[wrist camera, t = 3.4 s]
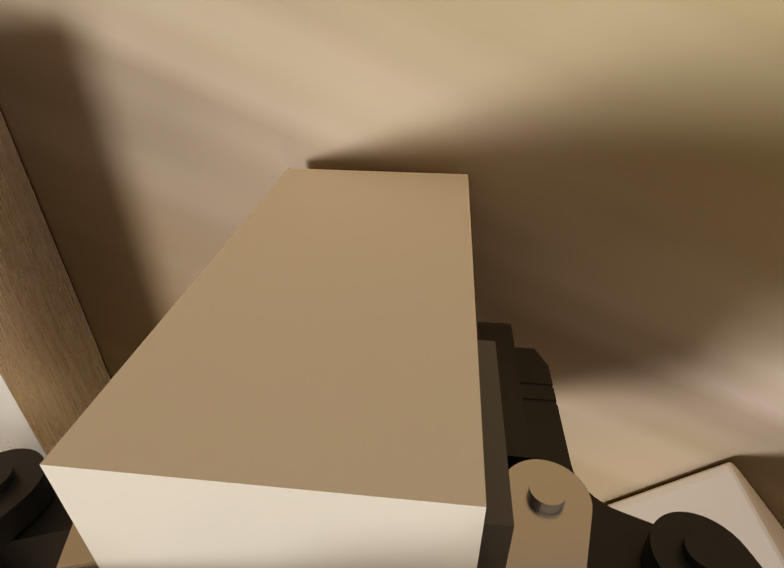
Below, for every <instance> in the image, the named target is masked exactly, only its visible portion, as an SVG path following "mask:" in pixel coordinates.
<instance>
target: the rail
mask: <svg viewBox="0 0 784 568" xmlns="http://www.w3.org/2000/svg"><path fill="white" fill-rule="evenodd" d="M110 380H111V379H110V377H109V374H108V372H107V369H106V367H105V364H104V362H103V360H102V357H101V355H100V352H99V350H98V347H97V345H96V342H95V340H94V338H93V335H92V333H91V330H90V328H89V325H88V323H87V320H86V318H85V316H84V313H83V311H82V308H81V306H80V303H79V301H78V299H77V296H76V294H75V291H74V289H73V286H72V284H71V281H70V279H69V277H68V274H67V272H66V269H65V267H64V264H63V262H62V259H61V257H60V255H59V252H58V250H57V247H56V245H55V242H54V240H53V237H52V235H51V233H50V230H49V228H48V225H47V223H46V220H45V218H44V216H43V213H42V211H41V208H40V206H39V203H38V201H37V198H36V196H35V194H34V191H33V189H32V186H31V184H30V181H29V179H28V176H27V174H26V172H25V169H24V167H23V164H22V162H21V159H20V157H19V154H18V152H17V150H16V147H15V145H14V142H13V140H12V137H11V135H10V133H9V130H8V128H7V125H6V123H5V120H4V118H3V115H2V113H1V111H0V452H3V451H7V450H11V449H20V448H25V449H32V450H35V451H37V452H39V453H40V454H41V455H42V456H43V458H44V459H45V457H46V456H47V455H48V454H49V453H50V452H51V450H52V449H53V448H54V447H55V446H56V444H57V443H58V442H59V441H60V440H61V438H62V437H63V436H64V435H65V434H66V432H67V431H68V430H69V429H70V428H71V427H72V425H73V424H74V423H75V422H76V421H77V419H78V418H79V417H80V416H81V415H82V413H83V412H84V411H85V410H86V409H87V408H88V406H89V405H90V404H91V403H92V402H93V400H94V399H95V398H96V397H97V396H98V394H99V393H100V392H101V391H102V390H103V389H104V387H105V386H106V385H107V384H108V383H109V381H110Z"/></svg>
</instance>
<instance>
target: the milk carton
mask: <svg viewBox="0 0 784 568" xmlns="http://www.w3.org/2000/svg"><path fill="white" fill-rule="evenodd" d="M608 506H609V507H611V508H614V509H616V510H618V511H621V512H624V513H626V514H629V515H631V516H634V517H637V518H639V519H642V520H645V521H647V522H650V523H653V524H654V523H655V521H656V520H657V519H658V518H659V517H661V516H663V515H665V514H667V513H671V512H679V511H680V512H690V513H695V514H698V515H701V516H704V517H707V518H709V519H711V520H713V521H715V522H717V523H718V524H720V525H722V526H723V527H725V528H726V529H727V530H729V531H730V532H731V533H733V534H734V535H735V536H736V537H737V538H738V539H739V540H740V541H741V542H742V543H743V544H744V545H745V547H746V548H747V549H748V550H749V551H750V553H751V554H752V555H753V556H754V558H755V559H756V560H757V561H758V563H759V564H760V565H761V566H762V568H784V529H783V528H782V526H781V525H780V524H779V522H778V521H777V520H776V518H775V517H774V516H773V514H772V513H771V512H770V511H769V509H768V508H767V507H766V505H765V504H764V503H763V501H762V500H761V499H760V497H759V496H758V495H757V493H756V492H755V491H754V489H753V488H752V487H751V485H750V484H749V483H748V481H747V480H746V479H745V478H744V476H743V475H742V474H741V472H740V471H739V470H738V469H737V467H736V466H735V465H734V464H733V463H731V462H728V463H725V464H722V465H719V466H716V467H713V468H710V469H707V470H705V471H702V472H699V473H696V474H693V475H690V476H687V477H685V478H682V479H679V480H676V481H673V482H671V483H668V484H665V485H662V486H659V487H656V488H654V489H651V490H648V491H645V492H642V493H640V494H637V495H634V496H631V497H628V498H626V499H623V500H620V501H617V502H614V503H612V504H609V505H608Z"/></svg>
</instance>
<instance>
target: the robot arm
mask: <svg viewBox="0 0 784 568" xmlns="http://www.w3.org/2000/svg"><path fill="white" fill-rule="evenodd" d="M476 327H477V340H486V341H495V344H496V353H497V363H498V373H499V382H500V392H501V402H502V411H503V421H504V431H505V440H506V450H507V460H508V469H509V479H510V489H511V498H512V508H513V518H514V531H513V535H512V540H511V545H510V549H509V554H508V559H507V563H506V568H762V566H761V565H760V564H759V563H758V561H757V560H756V559H755V558H754V556H753V555H752V554H751V553H750V551H749V550H748V549H747V548H746V547H745V545H744V544H743V543H742V542H741V541H740V540H739V539H738V538H737V537H736V536H735V535H734V534H733V533H731V532H730V531H729V530H727V529H726V528H725V527H723V526H722V525H720V524H718V523H717V522H715V521H713V520H711V519H709V518H707V517H704V516H701V515H698V514H695V513H690V512H680V511H679V512H671V513H667V514H665V515H663V516H661V517H659V518H658V519H657V520H656V521H655V523H654V524H653V523H650V522H647V521H645V520H642V519H639V518H637V517H634V516H631V515H629V514H626V513H624V512H621V511H618V510H616V509H614V508H611V507H609V506H608V505H606V504H604V503H602V502H601V501H599V500H598V499H596V498H595V497H594V496H593V495H591V494H590V493H589V492H588V490H587V488H586V487H585V485H584V484H583V482H582V481H581V480H580V479H579V478H578V477H577V476H576V475H575V474H574V472H573V469H572V466H571V462H570V458H569V454H568V449H567V445H566V441H565V436H564V432H563V428H562V423H561V419H560V415H559V410H558V406H557V404H556V397H555V393H554V388H552V385H553V384H552V380H551V375H550V371H549V367H548V365H547V364H546V362H545V361H544V360H543V359H542V357H541V356H540V355H539V354H538V352H537V351H536V350H535V349H529V348H515V347H514V340H513V334H512V327H511V324H502V323H485V322H477V323H476ZM43 460H44V458H43V456H42V455H41V454H40V453H39V452H37V451H35V450H32V449H25V448H20V449H11V450H7V451H3V452H0V568H99V566H98V565H97V563H96V561H95V559H94V558H93V556H92V554H91V553H90V551H89V549H88V547H87V546H86V544H85V542H84V540H83V539H82V537H81V535H80V534H79V532H78V530H77V528H76V527H75V525H74V523H73V522H72V520H71V518H70V516H69V515H68V513H67V511H66V509H65V508H64V506H63V504H62V503H61V501H60V499H59V497H58V496H57V494H56V492H55V490H54V489H53V487H52V485H51V484H50V482H49V480H48V478H47V477H46V475H45V473H44V472H43V470H42V468H41V466H40V463H41V462H42V461H43Z"/></svg>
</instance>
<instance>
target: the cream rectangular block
mask: <svg viewBox="0 0 784 568" xmlns="http://www.w3.org/2000/svg"><path fill="white" fill-rule="evenodd" d="M40 466H41V468H42V470H43V472H44V473H45V475H46V477H47V478H48V480H49V482H50V484H51V485H52V487H53V489H54V490H55V492H56V494H57V496H58V497H59V499H60V501H61V503H62V504H63V506H64V508H65V509H66V511H67V513H68V515H69V516H70V518H71V520H72V522H73V523H74V525H75V527H76V528H77V530H78V532H79V534H80V535H81V537H82V539H83V540H84V542H85V544H86V546H87V547H88V549H89V551H90V553H91V554H92V556H93V558H94V559H95V561H96V563H97V565H98V566H99V568H506V563H507V559H508V554H509V549H510V545H511V540H512V535H513V531H514V518H513V508H512V498H511V489H510V479H509V469H508V460H507V450H506V440H505V431H504V421H503V411H502V402H501V392H500V382H499V373H498V363H497V353H496V344H495V341H486V340H477V327H476V309H475V291H474V273H473V255H472V237H471V219H470V201H469V183H468V174H443V173H414V172H384V171H354V170H324V169H294V168H289V169H288V170H287V171H286V172H285V173H284V175H283V176H282V177H281V178H280V179H279V181H278V182H277V183H276V184H275V185H274V187H273V188H272V189H271V190H270V191H269V192H268V194H267V195H266V196H265V197H264V198H263V200H262V201H261V202H260V203H259V204H258V206H257V207H256V208H255V209H254V210H253V211H252V213H251V214H250V215H249V216H248V217H247V219H246V220H245V221H244V222H243V223H242V225H241V226H240V227H239V228H238V229H237V230H236V232H235V233H234V234H233V235H232V236H231V238H230V239H229V240H228V241H227V242H226V244H225V245H224V246H223V247H222V248H221V249H220V251H219V252H218V253H217V254H216V255H215V257H214V258H213V259H212V260H211V261H210V263H209V264H208V265H207V266H206V267H205V269H204V270H203V271H202V272H201V273H200V274H199V276H198V277H197V278H196V279H195V280H194V282H193V283H192V284H191V285H190V286H189V288H188V289H187V290H186V291H185V292H184V293H183V295H182V296H181V297H180V298H179V299H178V301H177V302H176V303H175V304H174V305H173V307H172V308H171V309H170V310H169V311H168V312H167V314H166V315H165V316H164V317H163V318H162V320H161V321H160V322H159V323H158V324H157V326H156V327H155V328H154V329H153V330H152V331H151V333H150V334H149V335H148V336H147V337H146V339H145V340H144V341H143V342H142V343H141V345H140V346H139V347H138V348H137V349H136V350H135V352H134V353H133V354H132V355H131V356H130V358H129V359H128V360H127V361H126V362H125V364H124V365H123V366H122V367H121V368H120V370H119V371H118V372H117V373H116V374H115V375H114V377H113V378H112V379H111V380H110V381H109V383H108V384H107V385H106V386H105V387H104V389H103V390H102V391H101V392H100V393H99V394H98V396H97V397H96V398H95V399H94V400H93V402H92V403H91V404H90V405H89V406H88V408H87V409H86V410H85V411H84V412H83V413H82V415H81V416H80V417H79V418H78V419H77V421H76V422H75V423H74V424H73V425H72V427H71V428H70V429H69V430H68V431H67V432H66V434H65V435H64V436H63V437H62V438H61V440H60V441H59V442H58V443H57V444H56V446H55V447H54V448H53V449H52V450H51V452H50V453H49V454H48V455H47V456H46V457H45V459H44V460H43V461H42V462H41V463H40Z"/></svg>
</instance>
